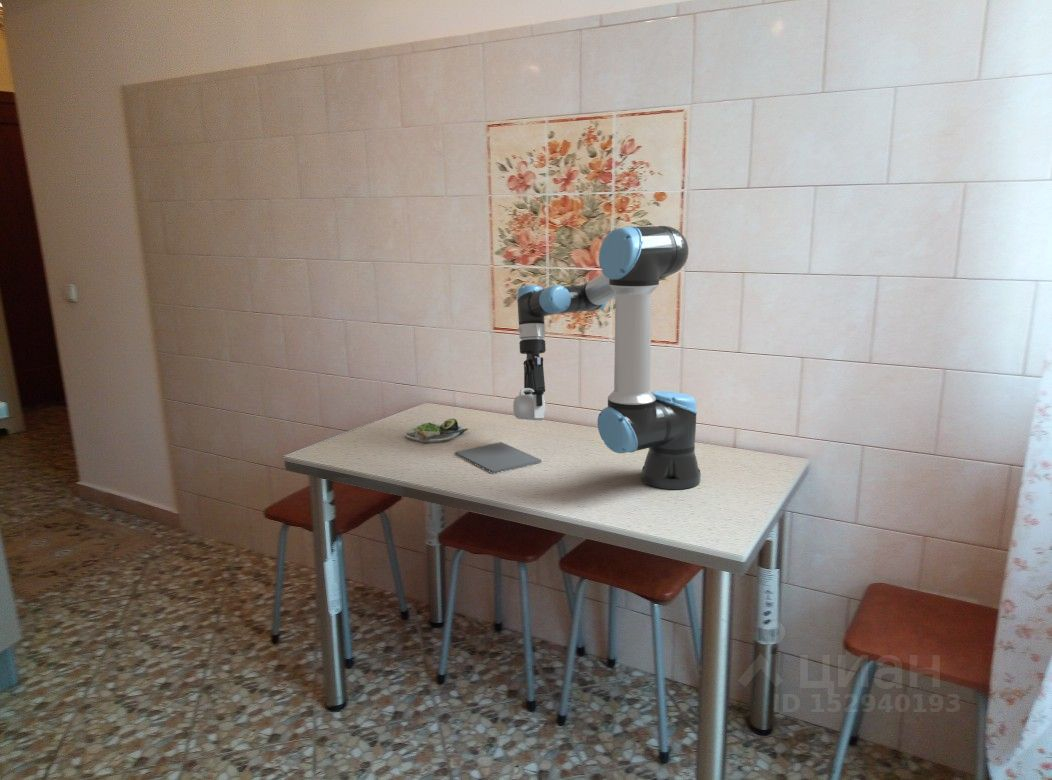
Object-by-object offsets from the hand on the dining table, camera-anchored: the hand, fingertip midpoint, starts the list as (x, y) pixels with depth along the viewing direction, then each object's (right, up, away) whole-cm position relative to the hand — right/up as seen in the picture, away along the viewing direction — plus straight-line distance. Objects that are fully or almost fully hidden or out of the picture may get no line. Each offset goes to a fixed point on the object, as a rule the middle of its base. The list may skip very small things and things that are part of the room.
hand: (535, 418), depth 212 cm
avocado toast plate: (-31, -7, +23) cm, 40 cm away
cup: (-6, +4, -1) cm, 8 cm away
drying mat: (-11, -12, -1) cm, 16 cm away
